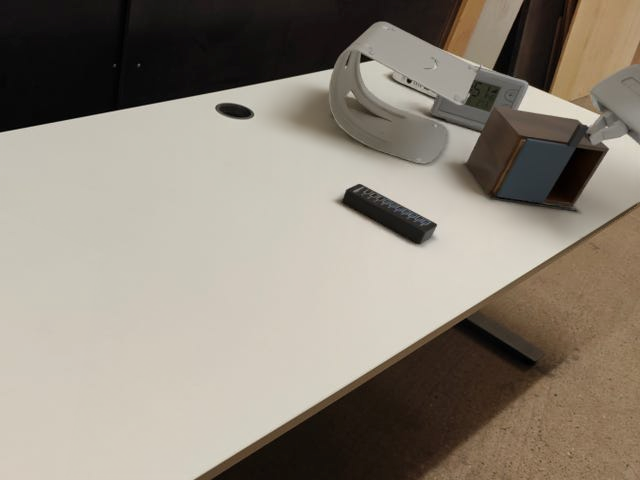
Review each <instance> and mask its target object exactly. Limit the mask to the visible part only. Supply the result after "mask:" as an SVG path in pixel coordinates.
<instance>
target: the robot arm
mask: <svg viewBox="0 0 640 480" xmlns="http://www.w3.org/2000/svg"><path fill="white" fill-rule="evenodd" d="M589 95H590V99H591V102H592V105H593V107H594V108H595V109H596V110H597V111H599V112H600V113H601V114H600V115H599V116H598V118H597V119H596V120H595V121H594V122H592V123H593V124H590V125H588V127H589V128H588V130H587V131H586V133H585V135H584V137H585V138H586V139H587V140H588V141H589V142H590V143H591V144H592V145H596V144H598V143H600V142H602V143H603V142H604V141H609V140H613V139H618V138H621V137H623V136H625V135H627V136H628V137H630V138H631V139H632V140H633V141H635V143H637V144H638V145H639V146H640V63H634V64H630V65H628V66H625V67H623V68H621V69H619V70H618V71H616V72H614V73H612V74H611V75H609V76H607V77H605V78H604V79H602V80H600V81H599V82H597V83H595V84H594V86H593V87H592V88H591V89H590V91H589Z"/></svg>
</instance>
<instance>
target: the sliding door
mask: <svg viewBox="0 0 640 480" xmlns="http://www.w3.org/2000/svg"><path fill="white" fill-rule="evenodd" d="M588 128H589V125H587V124H583V123H582V124H578V125H577V127H576V129H575V131H574V132H573V134H572V136H571V137H570V139H569V141H568V143H567V145H566V144H560V143H554V142H547V141H541V140H534V139H528V138H527V139H526V141H525V143H524V145H523V147H522V148H521V150H520V152H519V154H518V156H517V158H516V160H515V161H514V163H513V165H512V167H511V169H510V171H509V173H508V174H507V176H506V178H505V180H504V182H503V184H502V186H501V187H500V189H499V191H498V193H497V196H496V197H503V198H510V199H517V200H523V201H530V202H537V203H544V201H545V199H546V197H547V196H548V194H549V192H550V191H551V189H552V187H553V186H554V184H555V182H556V181H557V179H558V177H559V176H560V174H561V172H562V171H563V169H564V167H565V166H566V164H567V162H568V161H569V159H570V157H571V156H572V154H573V152H574V151H575V149H576V148H577V147H578V145H579V143H580V142H581V140H582V138H583V137H584V135H585V133H586V131H587V130H588Z"/></svg>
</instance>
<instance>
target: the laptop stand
mask: <svg viewBox="0 0 640 480" xmlns="http://www.w3.org/2000/svg"><path fill="white" fill-rule="evenodd" d="M361 55H364V56H366V57H367V58H369V59H371V60H373V61H374V62H377V63H378V64H380V65H382V66H384V67H386V68H388V69H390V70H392V71H393V72H394V71H395V72H397V73H399V74H401V75H403V76H404V77H406V78H408V79H410V80H412V81H414V82H416V83H417V84H419V85H421V86H423V87H425V88H427V89H429V90H430V91H432V92H434V93H436V94H438V95H440V96H441V97H443V98H445V99H447V100H449V101H451V102H452V103H454V104H456V105H458V106H462V105H464V104H465V103H466V101H467V99H468V97H469V95H470V94H469V93H468V92H469V90H470V87H471V85H472V83H473V81H474V78H475V76H476V74H478V72H479V71H480V69H481V68H483V63H481V64H480V65H479V66H478V67H479V69H478V68H476V67H475V66H476V65H474V64H471V63H469V62H467V61H465V60H463V59H461V58H458V57H457V56H455V55H453V54H452V53H449V52H447V51H445V50H443V49H441V48H439V47H437V46H435V45H433V44H431V43H429V42H427V41H426V40H423V39H421V38H419V37H418V36H415V35H414V34H411V33H409V32H407V31H405V30H403V29H401V28H400V27H397V26H396V25H393V24H392V23H390V22H387V21H377V22H374V23H373V24H372V25H370V26H369V27H368V28H367V29H366V30H365V31H364V32H363V33H362V34H361V35H360V36H358V38H356V39H355V40H354V41H353V42H352V43H351V44H350V45H348V47H347V48H346V49H344V50H343V51H342V53H340V55H339V56H338V58H337V60H336V61H335V63H334V67H333V69H332V72H331V75H330V80H329V83H328V84H329V86H328V104H329V108H330V111H331V114H332V116H333V119H334V120H335V122H336V124H337V125H338V126H339V127H340V128H341V129H342V130H343V131H344V132H345V133H347V134H348V136H350V137H352V138H353V139H354V140H356V141H358V142H359V143H361V144H363V145H364V146H365V145H366V147H369V148H371V149H373V150H376V151H378V152H382V153H385V154H388V155H391V156H394V157H397V158H399V159H403V160H406V161H409V162H413V163H415V164H416V163H417V164H422V165H426V164H431V163H432V162H433V161H434V160H435V159H437V157H438V156H440V154H441V152H442V151H443V149H444V147H445V144H446V141H447V129H446V127H445V126H444V124H442V123H440V122H438V121H436V120H433V119H430V118H426V117H424V116H421V115H418V114H414V113H412V112H410V111H409V112H408V111H406V110H402V109H399V108H397V107H395V106H393V105H391V104H388V103H387V102H385V101H384V100H382V99H380V98H379V97H378V96H376V95H375V94H374V93H372V91H370V89H369V88H368V87H367V86H366V84H365V82H364V80H363V77H362V73H361ZM347 61H348V62H347ZM435 63H436V65H437V68H435V69H432V68H434V67H435ZM350 92H351V93H352V95H353V96H354V98H355V99H356V101H357V102H358V103H359V104H360V105H362V106H363V107H364V109H367V110H368V111H369V112H370V113H371V114H369V113H365V112H362V111H359V110H356V109H353V108H350V107H348V106H347V103H346V99H345V98H346V97H347V95H348V94H349V93H350ZM467 94H468V95H467ZM466 96H467V97H466ZM372 114H373V115H372Z"/></svg>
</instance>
